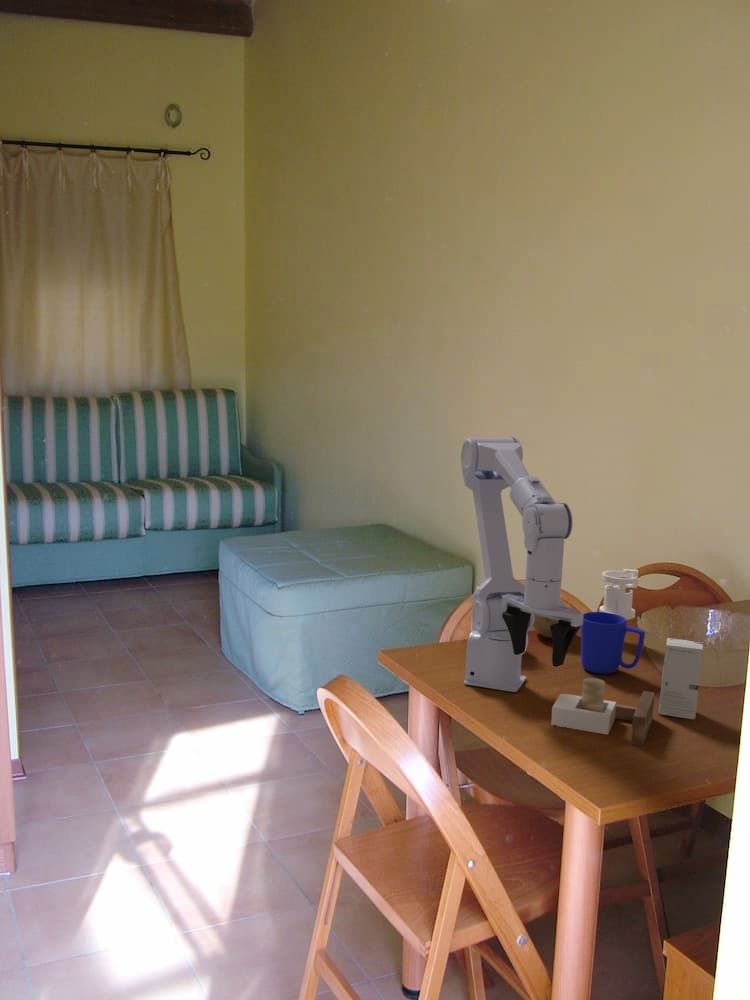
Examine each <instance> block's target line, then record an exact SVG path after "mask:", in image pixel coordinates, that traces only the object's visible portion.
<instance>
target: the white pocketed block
mask: <svg viewBox="0 0 750 1000" xmlns="http://www.w3.org/2000/svg"><path fill="white" fill-rule="evenodd" d="M581 704H582V695H581V696H580V695H574V694H569V693H561V692H560V694H559V696H558V697H557V698H556V701H555V702H554V704H553V705H552V707H551V721H550V725H551V726H554V725H556V726H555V727H560V728H565V727H566V728H567V729H571V728H572V730H577V729H578V731H585V732H590V733H596V734H601V735H609V733H610V731H611V730H612V727H613V725H614V722H615V720H616V718H615V712H616V704H617V701H613V700H612V701H611V700H605V699H604V702H603V713H602V712H596V711H589V710H583V709H581Z"/></svg>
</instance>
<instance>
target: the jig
mask: <svg viewBox="0 0 750 1000" xmlns="http://www.w3.org/2000/svg"><path fill="white" fill-rule="evenodd" d="M655 694H656V693H655V692H652V691H646V690H643V691H642V693H641V696H640V698H639V700H638V703H637V706H630V705H624V704H618V703H616V712H615V719H621V720H625V721H626V720H627V721H632V727H631V728H632V729H631V742H630V744H632V745H635V746H636V745H637V746H643V747H644V744H645V741H646V738H647V736H648V733H649V730H650V727H651V724H652V722H653V715H654V704H655Z"/></svg>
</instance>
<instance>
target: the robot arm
mask: <svg viewBox="0 0 750 1000" xmlns="http://www.w3.org/2000/svg"><path fill="white" fill-rule="evenodd" d="M462 443H463V444H462V447H461V453H460V464H461V471H462V478H463V482H464V486H465V487H466V488H468V489H469V490H471V491H472V495H473V502H474V508H475V515H476V522H477V523H476V524H477V530H478V537H479V545H480V551H481V558H482V565H483V571H484V582H482V584H480V585H479V586H477V587H478V588H477V587H476V589H475V591H474V592H473V594H472V596H471V597H472V599H471V600H472V609H471V621H472V620H473V624H474V627H475V629H476V630H477V631H472V632H471V631H470V633H469V636H468V639H467V644H466V654H465V673H464V674H465V676H464V681H463V684H464V685H468V686H473V687H474V686H475V687H480V688H487V689H492V690H499V691H505V692H510V693H511V692H512V693H517V692H518V691H519V689H520V688H521V686H522V685H523V684H524V682H525V681H526V679H527V676H526V675H521V672H522V671H521V670H522V669H521V668H522V657H523V655H522V653H524V652H525V653H526V651H525V647H526V635H528V632H529V631H531V630H532V627H533V624H534V620H535V615H538V616H542V617H545V618H549V619H553V620H557V621H558V623H556V624H553V625H550V630H551V634H552V638H551V640H552V655H551V662H552V666H553V667H555V668H557V667H560V666H563V665H564V662H565V660H566V655H567V653H568V651H569V648H570V646H571V643H572V641H573V640H574V639H575V636H576V635H577V634H578V632H579V630H581V625H583V615H584V614H585V612H580V611H577V610H575V609H574V610H573V609H570V608H568V607H566V606H564V605H561V604H560V598H561V596H562V595H561V591H562V579H563V578H562V577H563V564H564V550H565V540H566V539H569V537H570V536H571V534H572V530H573V524H574V523H573V514H572V511H571V509H570V506H569V504H568V503H566V502H564V501H563V502H562V501H561V502H560V501H558V500H555V499H554V498H553V496H552V495H551V494H550V492H549V491H548V490H547V488H546V486H544V483H543V482H542V481H541V480H540V479H539V478H538V476H531V475H530V474H529V472H528V471H527V469H526V467H525V465H524V462H523V459H524V456H523V455H524V452H523V451H524V449H523V445H522V442H520V440H519V438H517V436H510V437H474V436H468V437H467V438H466V439H465V440H464V442H462ZM509 487H510V491H509V498H510V499H511V502H512V503H513V505H514V506H515V508H516V510H517V511H518V513H520V516H521V517H522V521H521V523H522V530H523V534H524V535H523V536H524V537H523V538H524V542H523V543H524V548H525V549H526V550H527V551H526V565H525V581H524V583H522V582H521V581H519V580H517V579H516V578H515V577H514V573H513V567H512V566H513V565H512V561H511V560H512V559H511V554H510V548H509V547H510V546H509V539H508V533H507V525H506V520H505V512H504V508H503V498H502V492H503V490H505V489H507V488H509ZM525 653H524V654H525Z"/></svg>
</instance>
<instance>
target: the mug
mask: <svg viewBox="0 0 750 1000" xmlns="http://www.w3.org/2000/svg"><path fill="white" fill-rule="evenodd" d="M628 632H631V633H635V634H638V635H639V638H638V639H639V640H638V644H637V651H636V654H635V658H634V659H633V662H632V663H630V664H629V663H626V662H624V661H623V650H624V644H625V643H624V642H625V637H626V634H627V633H628ZM645 636H646V632H645V630H643V629H640V628H638V627H632V626H628V625H627V620H626V619H625V618H624V617H622V616H620V615H617V614H612V613H606V612H599V611H590V612H586V613H585V612H584V615H583V625H581V626H580V655H581V656H580V657H581V658H580V660H581V666H582V667H583V669H584V670H586V671H588V672H590V673H593V674H597V675H598V674H599V675H609V674H614V673H615V672H617V671H618V669H619V667H622V668H624V669H632V668H635V667H636V666H637V664H638V663H639V661H640V659H641V655H642V652H643V647H644V642H645Z"/></svg>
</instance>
